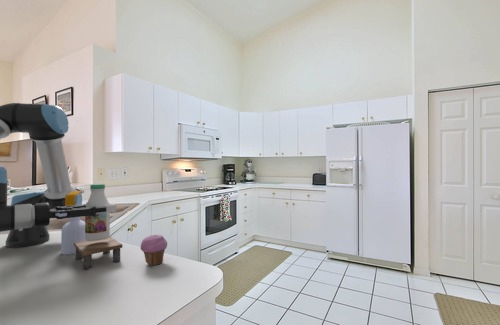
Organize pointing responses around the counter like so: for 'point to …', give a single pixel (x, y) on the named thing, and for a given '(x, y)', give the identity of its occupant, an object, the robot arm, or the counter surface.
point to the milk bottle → (97, 215)
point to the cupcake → (154, 249)
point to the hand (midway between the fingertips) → (112, 207)
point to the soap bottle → (72, 228)
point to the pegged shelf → (96, 250)
